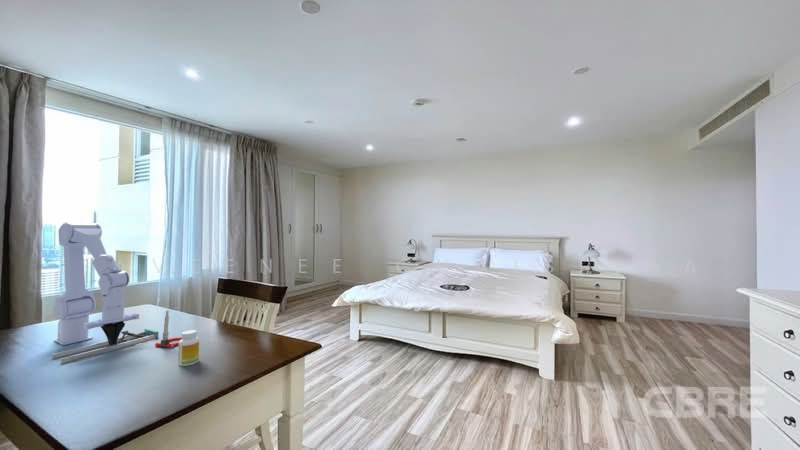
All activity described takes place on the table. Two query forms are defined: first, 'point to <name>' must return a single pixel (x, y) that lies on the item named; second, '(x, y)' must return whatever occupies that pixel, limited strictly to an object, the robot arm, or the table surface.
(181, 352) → the supplement bottle
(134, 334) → the wooden post with brackets
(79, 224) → the robot arm
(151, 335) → the guide rail
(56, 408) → the table surface
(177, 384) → the table surface
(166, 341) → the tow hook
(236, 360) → the table surface
